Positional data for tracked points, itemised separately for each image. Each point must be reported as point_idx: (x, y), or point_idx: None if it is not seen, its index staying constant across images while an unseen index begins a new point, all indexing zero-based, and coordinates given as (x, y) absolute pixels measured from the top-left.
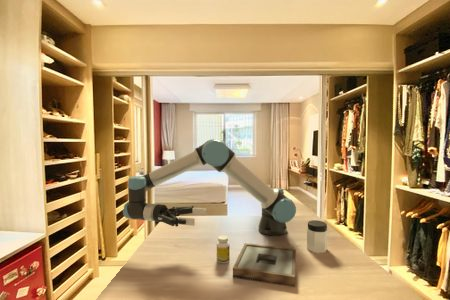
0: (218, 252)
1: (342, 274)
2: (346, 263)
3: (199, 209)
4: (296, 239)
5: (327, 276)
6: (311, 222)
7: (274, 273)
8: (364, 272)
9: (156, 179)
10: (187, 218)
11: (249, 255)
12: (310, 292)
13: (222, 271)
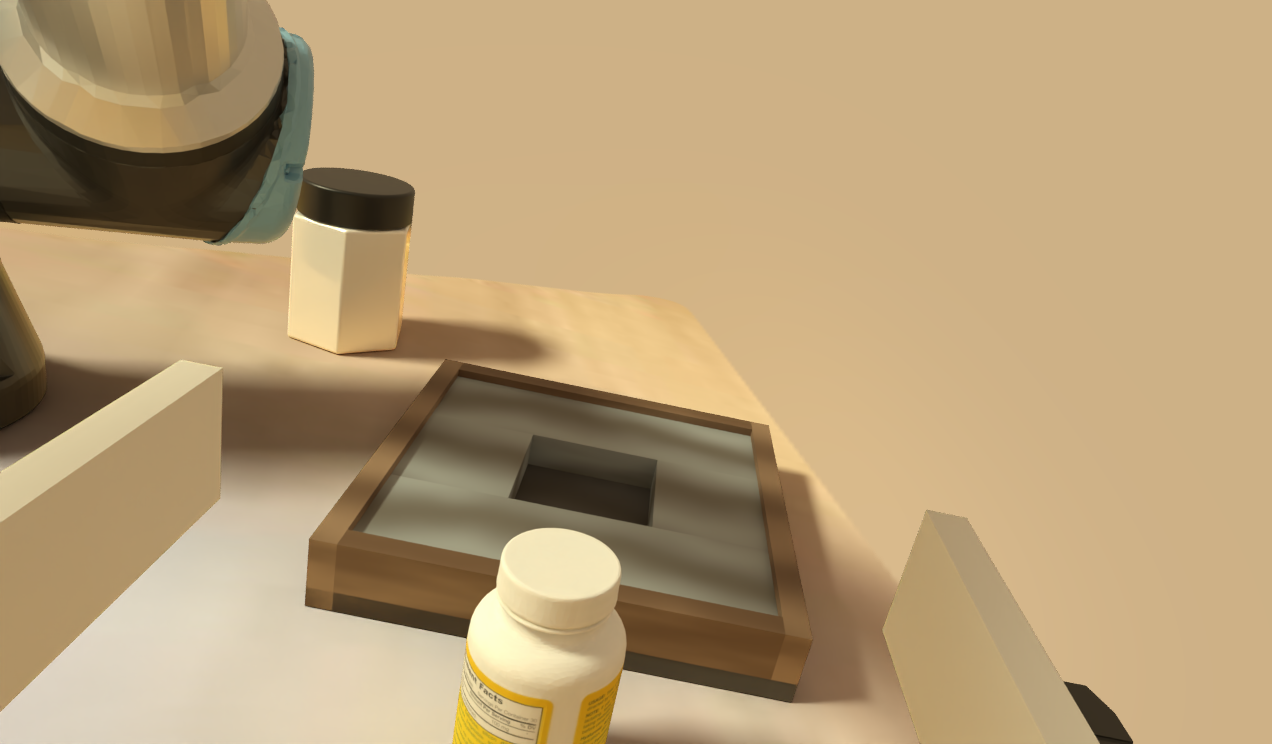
0: (602, 729)
1: (600, 351)
2: (504, 319)
3: (116, 461)
4: (172, 350)
5: (628, 381)
6: (339, 185)
7: (772, 473)
8: (571, 314)
9: None
10: (1017, 610)
11: None
12: (774, 444)
13: None
